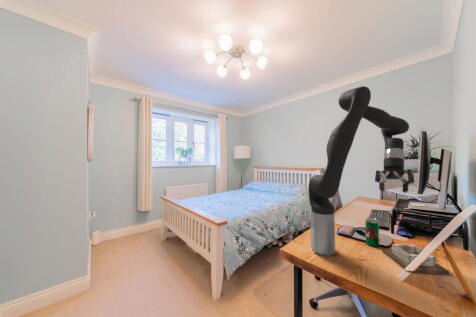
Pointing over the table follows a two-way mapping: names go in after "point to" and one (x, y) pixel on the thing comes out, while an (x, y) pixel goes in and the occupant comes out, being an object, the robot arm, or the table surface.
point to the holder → (409, 252)
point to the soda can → (372, 232)
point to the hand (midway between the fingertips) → (393, 191)
